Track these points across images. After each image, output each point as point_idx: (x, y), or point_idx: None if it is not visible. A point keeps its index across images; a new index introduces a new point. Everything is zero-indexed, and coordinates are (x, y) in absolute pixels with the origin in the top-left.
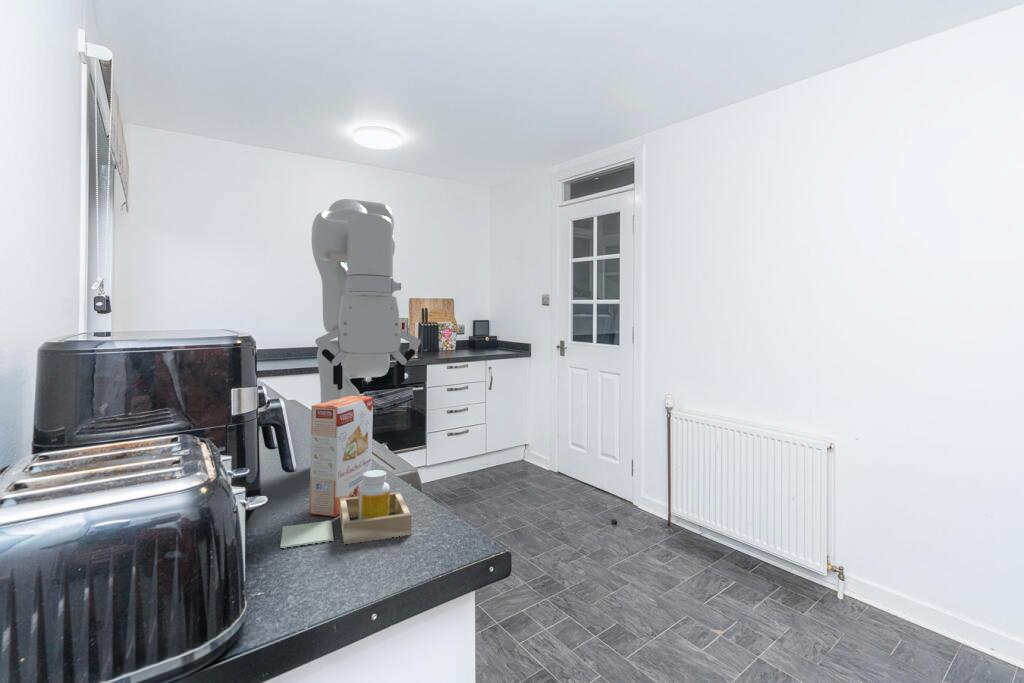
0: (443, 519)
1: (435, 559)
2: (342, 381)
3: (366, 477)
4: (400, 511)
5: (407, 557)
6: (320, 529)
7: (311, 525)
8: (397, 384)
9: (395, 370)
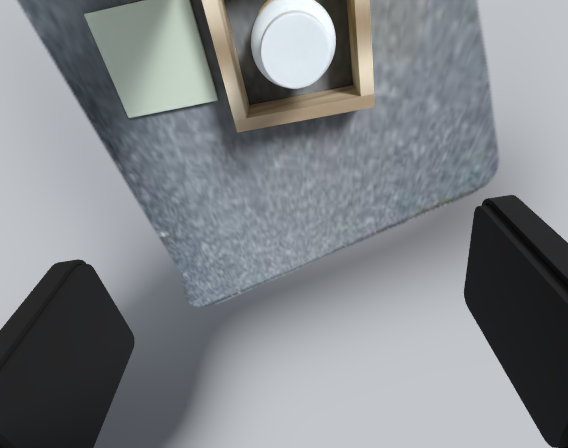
0: (451, 18)
1: (390, 189)
2: (119, 381)
3: (273, 79)
4: (354, 37)
5: (349, 177)
6: (176, 46)
7: (148, 18)
8: (474, 313)
9: (542, 335)
